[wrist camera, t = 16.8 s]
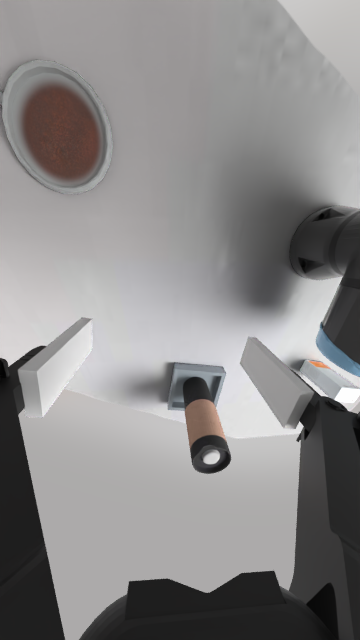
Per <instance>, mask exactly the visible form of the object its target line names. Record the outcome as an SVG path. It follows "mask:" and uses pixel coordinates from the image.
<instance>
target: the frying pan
mask: <svg viewBox="0 0 360 640" xmlns="http://www.w3.org/2000/svg"><path fill="white" fill-rule="evenodd" d="M0 105H2V119H3V123H4V126H5V130H6V134H7V138H8V140H9V142H10V144H11V146H12V148H13V150H14V152H15V154H16V156H17V158H18V160H19V161H20V163H21V164H22V165H23V166H24V167H25V169H26V170H27V171H28V172H29V173H30V175H31V176H32V177H34V178H35V179H36V180H38V181H39V182H40V183H42V184H43V185H44V186H46V187H47V188H49V189H52V190H55V191H57V192H60V193H62V194H80V193H83V192H86V191H89V190H92V189H93V188H94V187H95V186H96V185H97V184H98V183H99V182H101V181H102V180H103V178H104V176H105V174H106V172H107V170H108V168H109V166H110V162H111V156H112V150H113V144H112V132H111V126H110V123H109V120H108V117H107V114H106V111H105V108H104V106H103V105H102V103H101V101H100V100H99V98H98V96H97V95H96V93H95V92H94V90H93V88H92V87H91V86H90V85H89V84H88V83H87V82H86V81H85V80H84V79H83V78H81V77H80V76H79V75H78V74H77V73H76V72H75V71H73V70H71V69H69V68H67V67H65V66H63V65H61V64H59V63H57V62H55V61H46V60H34V61H31V62H28V63H26V64H23V65H20V66H19V68H18V69H17V70H16V71H15V72H14V73H13V74H12V75H11V76H10V77H9V79H8V82H7V85H6V87H5V90H4V93H3V92H1V91H0Z"/></svg>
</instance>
